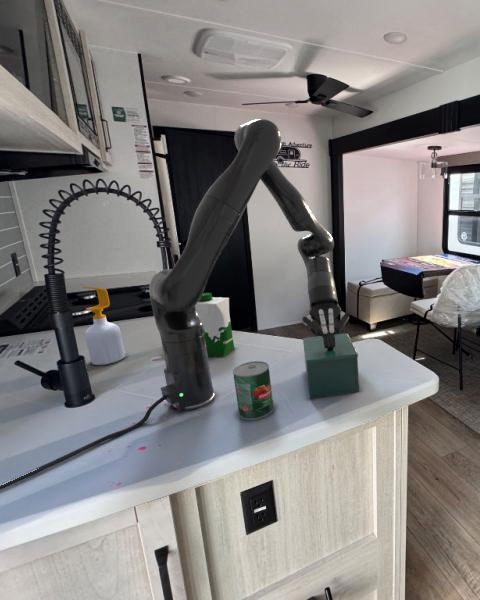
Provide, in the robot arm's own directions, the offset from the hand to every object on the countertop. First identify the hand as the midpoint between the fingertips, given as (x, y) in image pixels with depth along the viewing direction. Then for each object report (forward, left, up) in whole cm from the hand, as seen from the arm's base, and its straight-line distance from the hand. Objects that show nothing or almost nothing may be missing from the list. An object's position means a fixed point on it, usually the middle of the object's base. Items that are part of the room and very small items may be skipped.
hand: (330, 348), depth 97 cm
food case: (+2, +4, -11) cm, 12 cm away
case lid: (+2, +3, -1) cm, 4 cm away
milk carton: (-6, +50, -11) cm, 51 cm away
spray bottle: (-30, +74, -11) cm, 80 cm away
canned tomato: (-19, +7, -11) cm, 23 cm away
